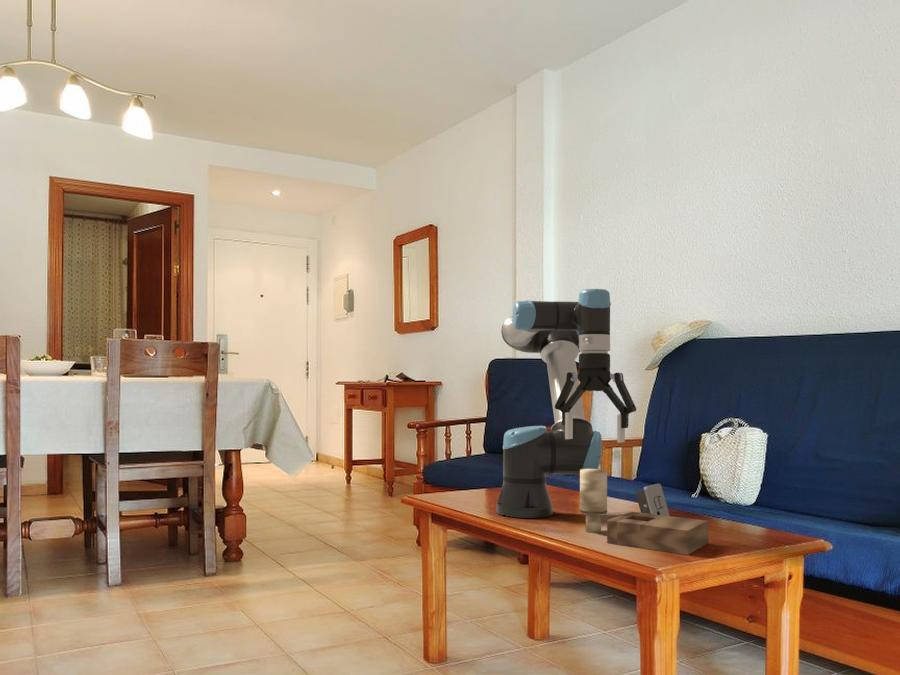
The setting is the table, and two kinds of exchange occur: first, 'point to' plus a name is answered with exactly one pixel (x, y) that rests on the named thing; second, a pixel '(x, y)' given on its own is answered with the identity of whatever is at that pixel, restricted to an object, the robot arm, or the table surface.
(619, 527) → the board
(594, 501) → the leg peg
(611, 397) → the robot arm
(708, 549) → the table surface
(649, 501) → the electrical switch
